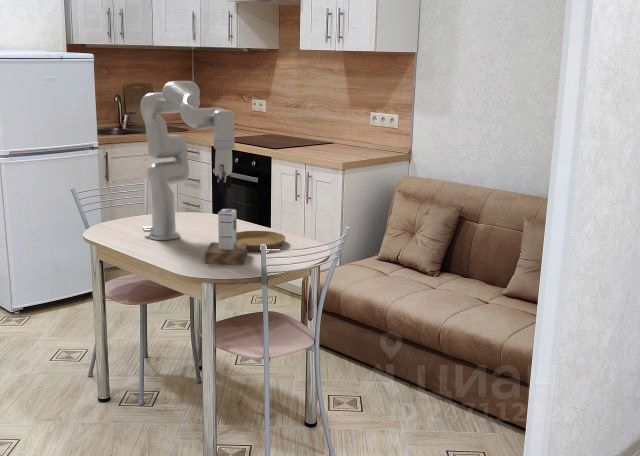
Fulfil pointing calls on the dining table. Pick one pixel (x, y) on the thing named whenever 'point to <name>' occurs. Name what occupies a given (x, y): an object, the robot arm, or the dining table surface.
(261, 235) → the plant saucer
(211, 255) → the walnut block
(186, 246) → the dining table surface
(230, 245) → the syrup box
